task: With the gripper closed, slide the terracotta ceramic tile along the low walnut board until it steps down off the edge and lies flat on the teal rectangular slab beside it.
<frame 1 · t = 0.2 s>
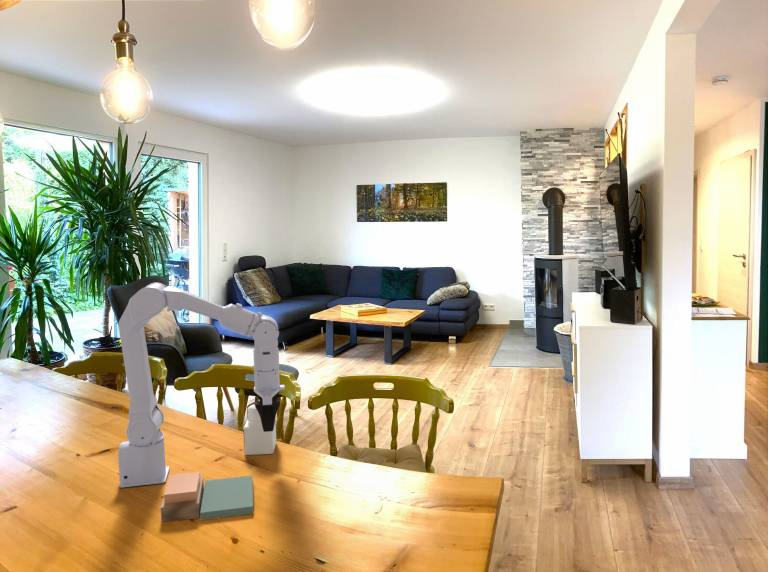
hand: (268, 425, 134), 10 cm above the table, fingers open, 7 cm apart
medicine bottle: (260, 449, 145), on the table
teal rectangular slab: (228, 499, 119), on the table
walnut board: (183, 505, 117), on the table
terracotta tile: (183, 491, 116), point 3 cm above the table, touching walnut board
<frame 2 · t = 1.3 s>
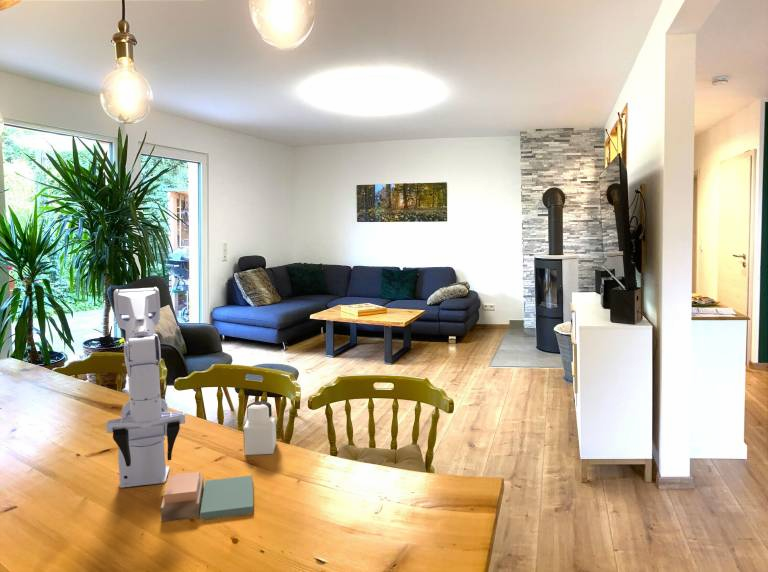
hand: (149, 461, 115), 9 cm above the table, fingers open, 7 cm apart
nothing on the table moved.
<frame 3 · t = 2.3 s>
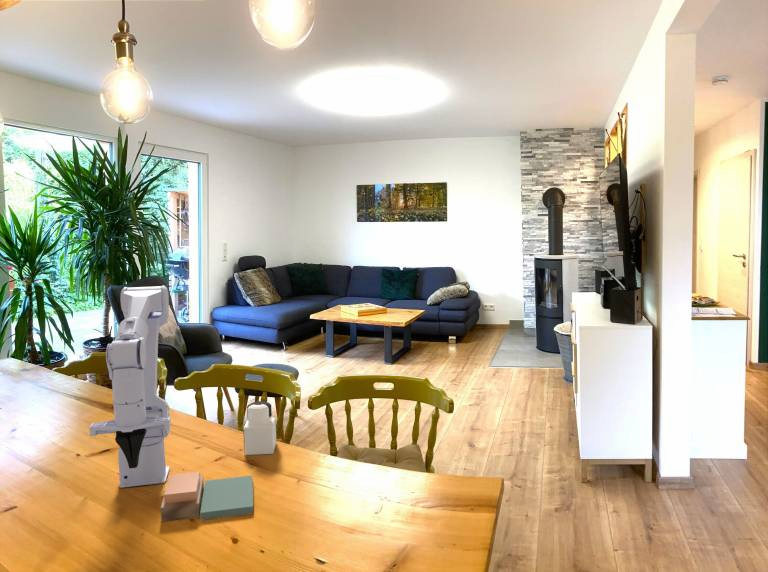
hand: (133, 466, 113), 9 cm above the table, fingers closed
nothing on the table moved.
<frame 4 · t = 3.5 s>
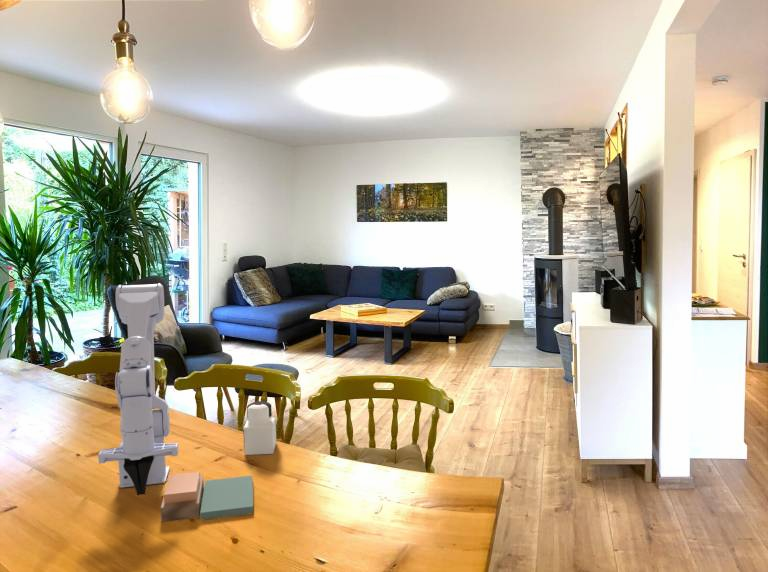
hand: (141, 492, 114), 4 cm above the table, fingers closed
nothing on the table moved.
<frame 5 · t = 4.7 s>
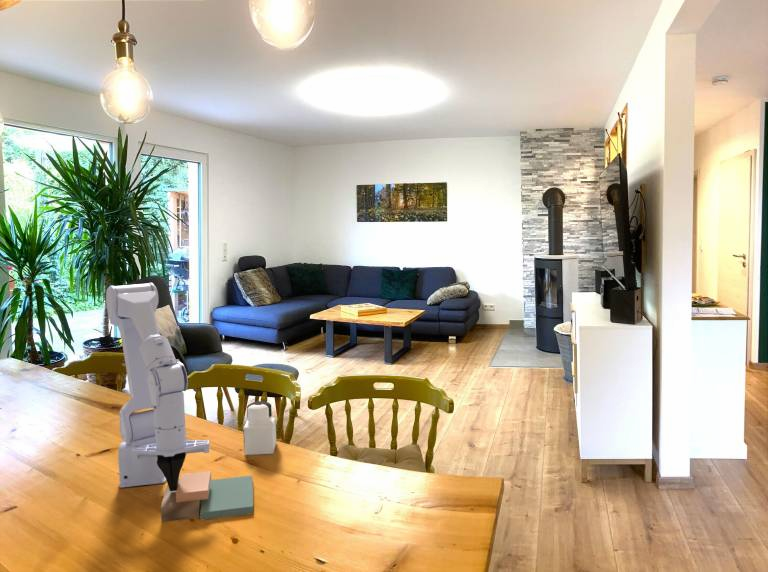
hand: (173, 488, 116), 4 cm above the table, fingers closed
terracotta tile: (194, 490, 117), point 3 cm above the table, touching gripper, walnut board
everything else where it was.
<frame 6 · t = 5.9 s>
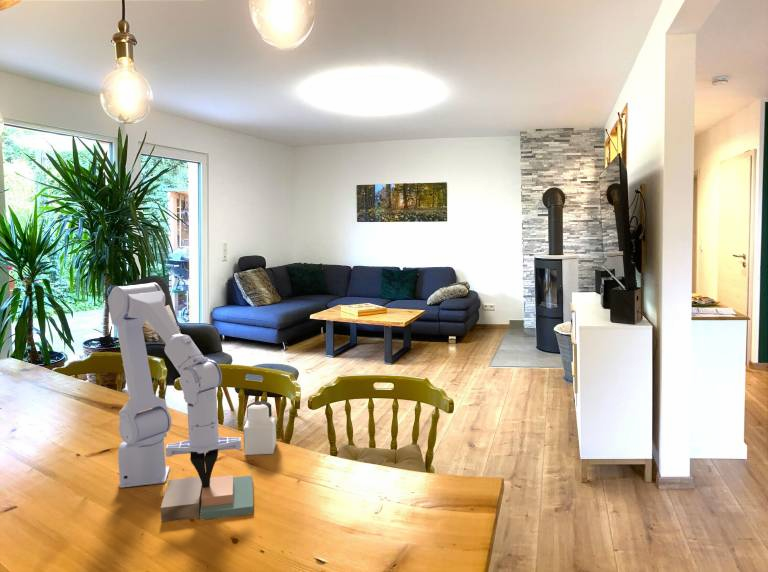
hand: (206, 485, 117), 4 cm above the table, fingers closed
terracotta tile: (218, 494, 118), point 1 cm above the table, touching teal rectangular slab
everything else where it was.
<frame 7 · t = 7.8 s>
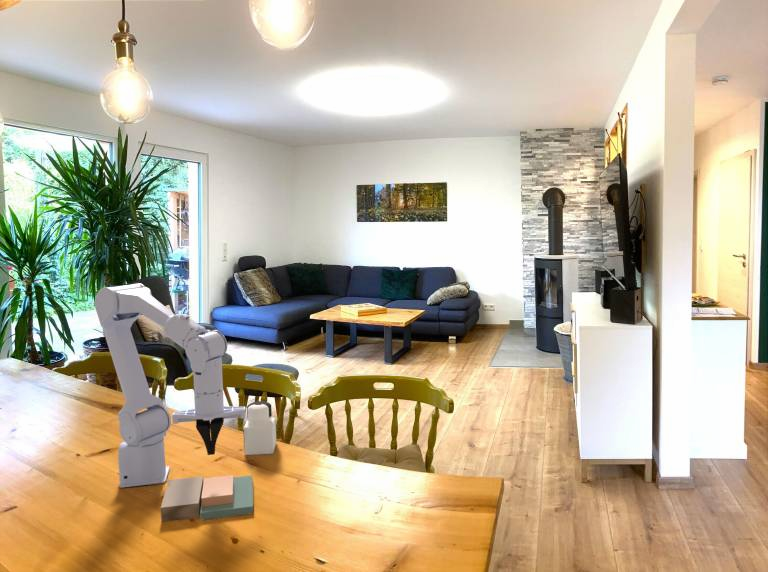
hand: (211, 452, 120), 9 cm above the table, fingers closed
nothing on the table moved.
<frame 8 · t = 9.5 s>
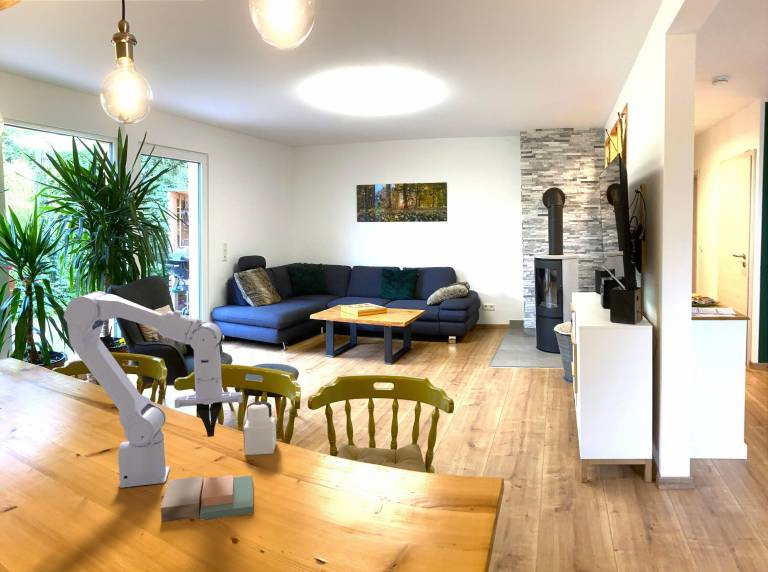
hand: (210, 435, 129), 9 cm above the table, fingers closed
nothing on the table moved.
at the end: terracotta tile point 1.5 cm above the table; terracotta tile inside the target area (2.1 cm from its centre), point 1.5 cm above the table; terracotta tile tilted 0° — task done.
